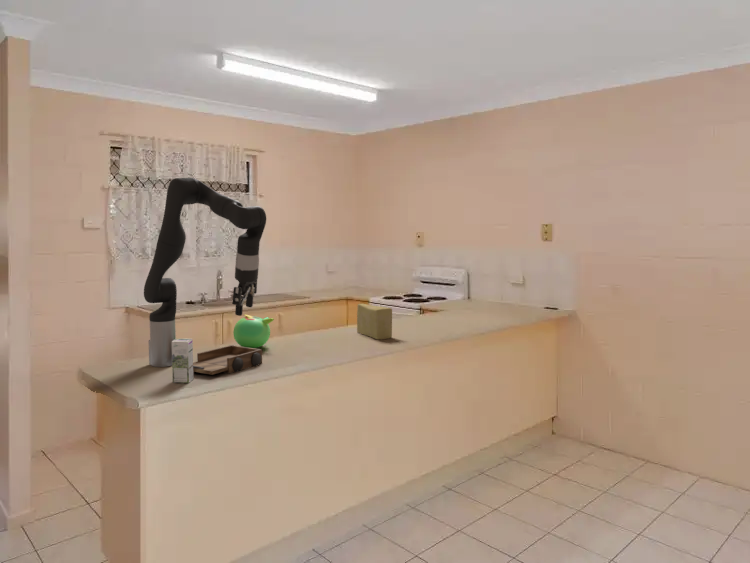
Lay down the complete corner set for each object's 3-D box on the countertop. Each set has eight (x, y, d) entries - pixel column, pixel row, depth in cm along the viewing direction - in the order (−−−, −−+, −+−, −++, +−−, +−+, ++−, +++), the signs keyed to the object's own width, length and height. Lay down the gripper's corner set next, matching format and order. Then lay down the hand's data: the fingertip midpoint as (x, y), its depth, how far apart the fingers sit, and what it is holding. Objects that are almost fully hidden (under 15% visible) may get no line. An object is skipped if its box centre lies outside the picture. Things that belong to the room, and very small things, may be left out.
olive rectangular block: (350, 333, 290) (350, 303, 289) (365, 331, 296) (365, 302, 295) (376, 340, 273) (377, 308, 271) (392, 338, 279) (393, 307, 277)
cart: (196, 367, 217) (195, 353, 217) (230, 358, 233) (229, 344, 232) (230, 373, 208) (230, 358, 208) (263, 363, 224) (263, 349, 224)
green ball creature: (231, 344, 259) (230, 312, 258) (268, 342, 265) (268, 310, 264) (236, 353, 243) (235, 318, 241) (276, 350, 249) (276, 316, 247)
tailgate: (180, 369, 209) (180, 364, 209) (197, 364, 216) (197, 359, 216) (211, 374, 202) (211, 369, 202) (228, 369, 209) (228, 365, 208)
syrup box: (194, 378, 201) (193, 337, 200) (189, 383, 195) (188, 341, 194) (177, 378, 201) (176, 337, 199) (172, 383, 195) (170, 341, 194)
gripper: (245, 258, 199) (242, 302, 204) (227, 269, 185) (224, 315, 190) (265, 262, 197) (262, 306, 202) (248, 273, 184) (245, 320, 189)
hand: (244, 310), depth 196 cm, fingers open, 8 cm apart
